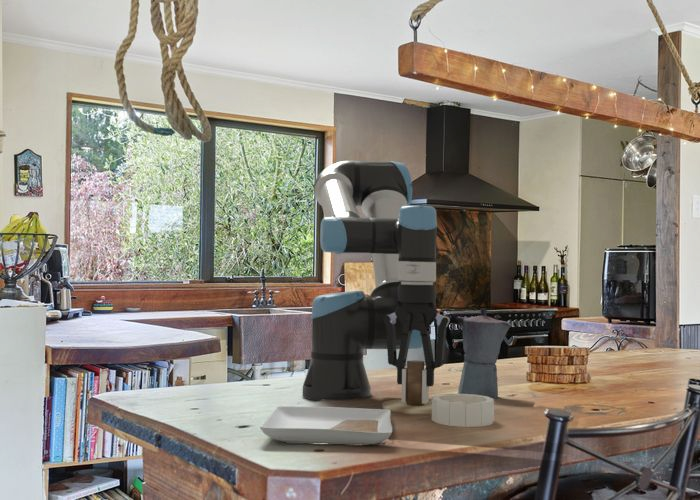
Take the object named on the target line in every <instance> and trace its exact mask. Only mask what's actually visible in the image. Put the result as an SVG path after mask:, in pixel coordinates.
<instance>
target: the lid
mask: <svg viewBox="0 0 700 500" xmlns="http://www.w3.org/2000/svg"><path fill="white" fill-rule="evenodd" d="M406 368H407V402H402V398H400V399H390V400H386V401H383V402H382V403H381V405H382V406H381V408H382V409H387V410H390V411H391V413H394V414H406V415H432V399H429V402H427V403H426V404H422V370H424V369H425V360H406Z"/></svg>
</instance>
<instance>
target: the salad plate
mask: <svg viewBox="0 0 700 500" xmlns="http://www.w3.org/2000/svg"><path fill="white" fill-rule="evenodd" d="M391 413H392V412H391V411H390V410H387V409H383V408H382V409H381V408H363V407H362V408H361V407H359V408H357V407H339V406H338V407H337V406H287V405H285V406H281V405H279V406H276V407H275V408H274V409H273V410H272V412H271V413H270V414H269V416H267V418H266V419H265V421H263V423H261V425H260V427H259V429H260V430H261V432H262V433H263V434H265V436H267V437H269V438H270V439H273V440H275V441H280V442H282V443H284V442H288V443H287V444H292V443H328V444H362V445H361V446H369V445H368V444H372V445H377V444H381V443H383V442H384V441H387V440H388V439H389V438H390V437H391V436H392V433H393V424H392V422H391V416H392V414H391ZM345 421H377V422H378V423H377V431H362V430H361V431H360V430H347V429H334V427H335V426H337V425H340V424H341V423H343V422H345ZM332 428H333V429H332Z"/></svg>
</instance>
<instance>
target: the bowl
mask: <svg viewBox="0 0 700 500" xmlns="http://www.w3.org/2000/svg"><path fill="white" fill-rule="evenodd" d="M431 400H432V414H431V421H432V422H434V423H436V424H440V425H443V426H444V425H445V426H450V427H452V426H453V427H462V428H463V427H464V428H467V427H468V428H472V427H473V428H475V427H486V426H490V425H491V426H492V424H494V422H495V399H494V398H490V397H487V396H481V395H474V394H458V393H442V394H435V395H434V396H433V397H431ZM458 401H467V402H458Z"/></svg>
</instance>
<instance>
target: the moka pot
mask: <svg viewBox="0 0 700 500" xmlns="http://www.w3.org/2000/svg"><path fill="white" fill-rule="evenodd" d="M487 313H488V309H487V308H484V307H483V308H480V315H477V316H471V317H463V316H456V315H452V314H451V316H449V318H450V322H449V324H448V326H447V329H446V343H447V346H448V350H449V353H450V356H452V357H454V358H455V357H456V358H460V357H461V356H462V353H461V352H456V351H455V347H454V345H453V339H452V335H451V329H450V326H451V324H454V325H457V326H461V328H462V329H461V330H462V344H463V345H462V346H463V347H462V348H463V351H464V354H463V357H464V361H463V366H462V371H461V376H460V380H459V386H458V392H457V394H474V395H481V396H487V397H490V398H493V399H494V400H495V399H497V398H499V388H498V387H499V386H498V372H497V371H498V369H497V364H496V363H497V359H498V356H499V354H500V350H501V344H502V343H503V341H504V340H505V339H504V338H505V337H506V335H507V332H508V331H509V329H510V328H511V327H513V325H512V324H511V323H509V322H508V321H505V320H500V319H496V318H493V317H490V316H487Z"/></svg>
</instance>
